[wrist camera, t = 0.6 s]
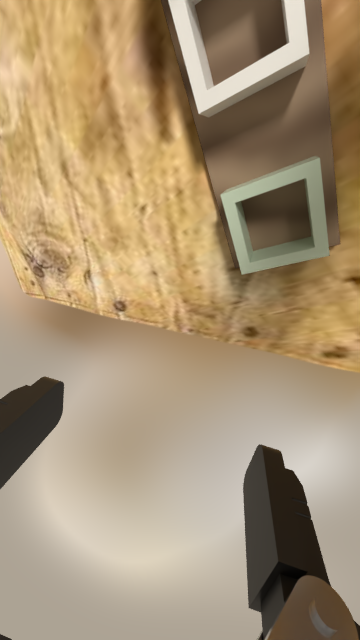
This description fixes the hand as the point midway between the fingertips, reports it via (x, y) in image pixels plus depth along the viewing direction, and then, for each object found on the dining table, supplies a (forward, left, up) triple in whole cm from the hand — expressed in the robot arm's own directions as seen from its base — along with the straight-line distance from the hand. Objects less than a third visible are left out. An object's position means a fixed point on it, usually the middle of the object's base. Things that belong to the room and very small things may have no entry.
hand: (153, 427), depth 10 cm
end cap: (-1, +4, -28) cm, 29 cm away
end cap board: (-9, +4, -28) cm, 30 cm away
